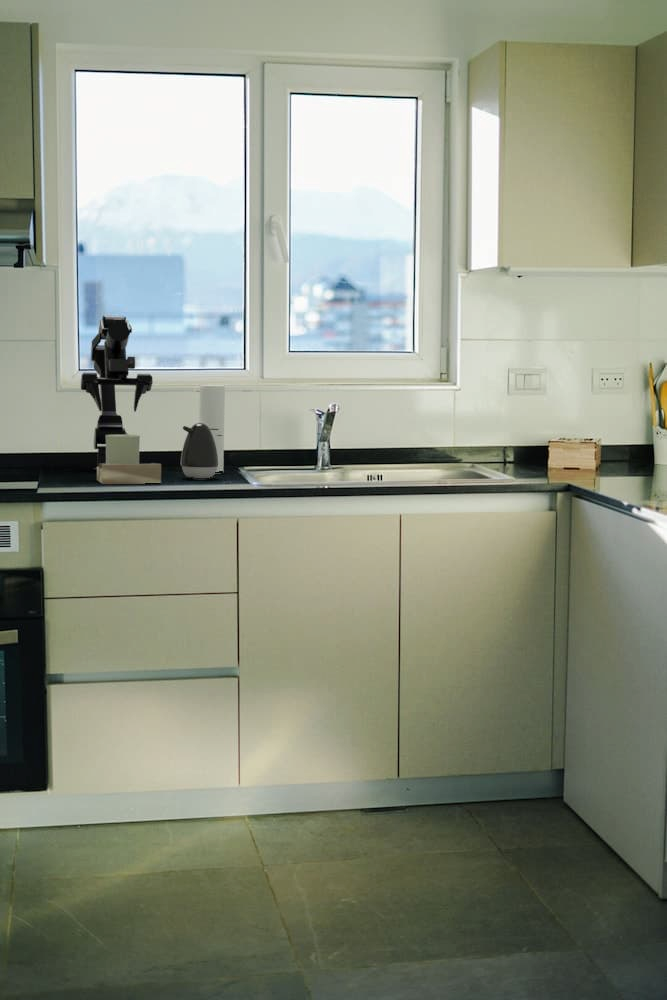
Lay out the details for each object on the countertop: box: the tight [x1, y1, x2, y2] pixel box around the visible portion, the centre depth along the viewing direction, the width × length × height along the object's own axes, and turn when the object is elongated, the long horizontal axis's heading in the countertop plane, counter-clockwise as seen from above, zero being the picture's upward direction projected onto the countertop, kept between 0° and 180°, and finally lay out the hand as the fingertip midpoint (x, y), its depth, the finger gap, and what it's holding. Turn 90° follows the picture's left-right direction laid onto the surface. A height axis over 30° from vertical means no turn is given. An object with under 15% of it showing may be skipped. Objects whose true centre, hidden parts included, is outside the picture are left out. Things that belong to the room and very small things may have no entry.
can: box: [105, 433, 141, 464], centre depth 328 cm, size 9×9×12 cm
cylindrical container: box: [198, 384, 226, 472], centre depth 353 cm, size 7×7×25 cm
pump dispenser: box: [180, 422, 218, 479], centre depth 333 cm, size 10×10×15 cm
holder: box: [96, 462, 162, 485], centre depth 319 cm, size 10×15×5 cm
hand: (117, 410), depth 327 cm, fingers open, 9 cm apart
